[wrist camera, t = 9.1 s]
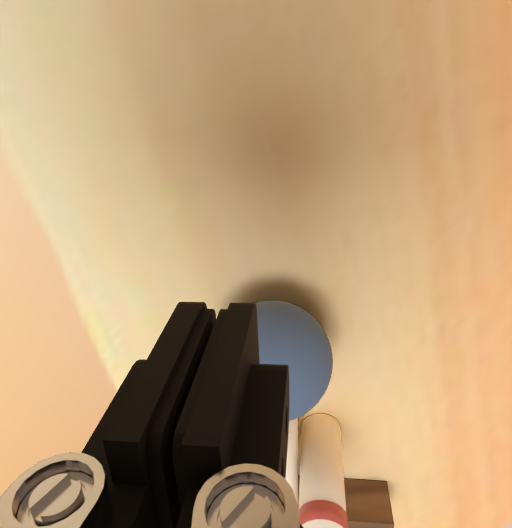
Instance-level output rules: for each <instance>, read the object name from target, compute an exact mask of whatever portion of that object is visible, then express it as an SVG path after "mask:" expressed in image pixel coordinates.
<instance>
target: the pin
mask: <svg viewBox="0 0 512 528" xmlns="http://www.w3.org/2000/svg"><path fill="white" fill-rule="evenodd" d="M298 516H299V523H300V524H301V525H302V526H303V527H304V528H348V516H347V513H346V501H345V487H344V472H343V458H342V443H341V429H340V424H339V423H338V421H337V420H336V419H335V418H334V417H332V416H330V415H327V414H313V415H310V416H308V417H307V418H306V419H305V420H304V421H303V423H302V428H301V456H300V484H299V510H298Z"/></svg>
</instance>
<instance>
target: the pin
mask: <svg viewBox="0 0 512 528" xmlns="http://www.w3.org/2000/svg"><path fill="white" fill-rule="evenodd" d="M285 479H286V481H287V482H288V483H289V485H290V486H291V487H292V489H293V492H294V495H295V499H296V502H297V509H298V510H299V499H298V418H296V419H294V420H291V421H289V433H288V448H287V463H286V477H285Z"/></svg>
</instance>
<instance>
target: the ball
mask: <svg viewBox="0 0 512 528" xmlns="http://www.w3.org/2000/svg"><path fill="white" fill-rule="evenodd" d="M255 304H256V307H257V321H258V341H259V361H260V364H277V365H288V366H289V421H291V420H294V419H296V418H298V417H300V416H302V415H304V414H305V413H307V412H308V411H310V410H311V409H312V408H313V407H314V406H315V405H316V404H317V403H318V402H319V400H320V399H321V398H322V396H323V395H324V393H325V391H326V389H327V387H328V384H329V382H330V378H331V374H332V364H333V360H332V351H331V346H330V343H329V340H328V338H327V335H326V333H325V332H324V330H323V328H322V327H321V325H320V324H319V323H318V321H317V320H316V319H315V318H314V317H313V316H312V315H310V314H309V313H308V312H307V311H305V310H304V309H302V308H300V307H298V306H296V305H294V304H291V303H288V302H284V301H277V300H267V301H260V302H256V303H255Z"/></svg>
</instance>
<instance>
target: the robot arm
mask: <svg viewBox="0 0 512 528" xmlns="http://www.w3.org/2000/svg"><path fill="white" fill-rule="evenodd" d="M288 433H289V366H288V365H277V364H260V361H259V341H258V321H257V307H256V304H255V303H230V305H229V307H228V309H221V310H220V311H219V314H218V317H217V319H216V315H215V310H214V309H207V306H206V304H205V302H179V303H178V304H177V306H176V308H175V310H174V312H173V313H172V315H171V317H170V319H169V321H168V322H167V324H166V326H165V328H164V330H163V331H162V333H161V335H160V337H159V339H158V340H157V342H156V344H155V346H154V348H153V349H152V351H151V353H150V355H149V357H148V358H147V360H138V361H136V362H135V364H134V365H133V366H132V368H131V370H130V371H129V373H128V375H127V376H126V378H125V380H124V381H123V383H122V385H121V386H120V388H119V390H118V392H117V393H116V395H115V397H114V398H113V400H112V402H111V403H110V405H109V407H108V409H107V410H106V412H105V414H104V415H103V417H102V419H101V421H100V422H99V424H98V426H97V427H96V429H95V431H94V432H93V434H92V436H91V438H90V439H89V441H88V442H87V444H86V446H85V448H84V449H83V451H82V453H72V452H71V453H70V452H69V453H64V454H59V455H55V456H52V457H49V458H47V459H45V460H42V461H40V462H38V463H37V464H35V465H34V466H32V467H30V468H29V469H27V470H26V471H25V472H24V473H22V474H21V475H20V476H19V477H18V478H17V479H16V480H15V481H14V482H13V483H12V484H11V485H10V486H9V487H8V489H7V490H6V491H5V492H4V493H3V494H2V495H1V497H0V528H304V527H303V526H302V525H301V524H300V523H299V516H298V509H297V502H296V499H295V495H294V492H293V489H292V487H291V486H290V485H289V483H288V482H287V481H286V479H285V477H286V463H287V448H288Z"/></svg>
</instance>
